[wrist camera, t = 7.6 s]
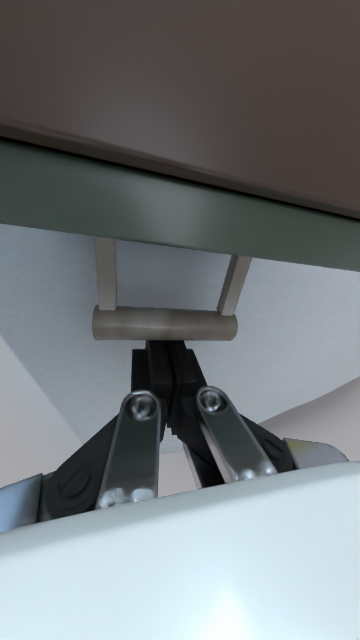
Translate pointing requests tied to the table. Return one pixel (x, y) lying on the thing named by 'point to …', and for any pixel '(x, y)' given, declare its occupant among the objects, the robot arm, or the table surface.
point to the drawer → (164, 232)
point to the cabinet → (193, 91)
